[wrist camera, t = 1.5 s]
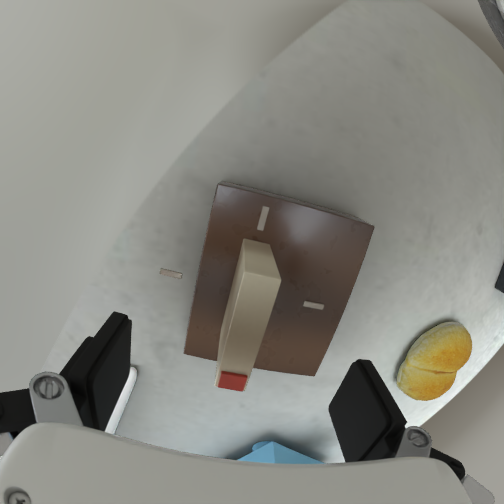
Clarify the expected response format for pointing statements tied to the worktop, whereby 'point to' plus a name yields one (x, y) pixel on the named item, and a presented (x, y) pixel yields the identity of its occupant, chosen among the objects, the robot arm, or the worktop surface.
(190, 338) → the panel
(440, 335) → the bread roll
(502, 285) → the button block
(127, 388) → the long cone
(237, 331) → the handle
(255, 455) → the teapot
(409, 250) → the worktop surface
